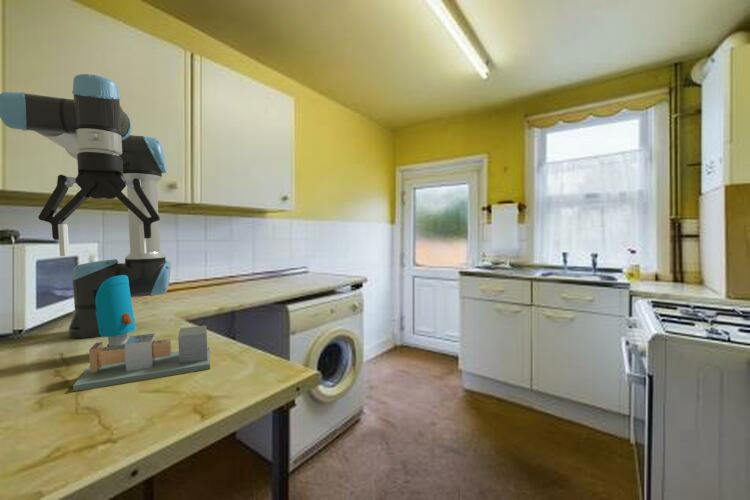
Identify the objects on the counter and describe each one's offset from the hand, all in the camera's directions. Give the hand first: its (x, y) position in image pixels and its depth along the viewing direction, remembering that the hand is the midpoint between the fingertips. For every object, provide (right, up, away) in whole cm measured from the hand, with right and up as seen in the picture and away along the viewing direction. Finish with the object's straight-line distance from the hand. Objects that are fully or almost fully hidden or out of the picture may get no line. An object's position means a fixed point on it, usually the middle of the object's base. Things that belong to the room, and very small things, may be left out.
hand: (105, 254), depth 74 cm
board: (+4, -27, +9) cm, 29 cm away
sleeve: (+2, -26, +8) cm, 28 cm away
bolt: (+1, -26, +7) cm, 27 cm away
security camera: (-12, -27, +20) cm, 36 cm away
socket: (+12, -26, +13) cm, 31 cm away
